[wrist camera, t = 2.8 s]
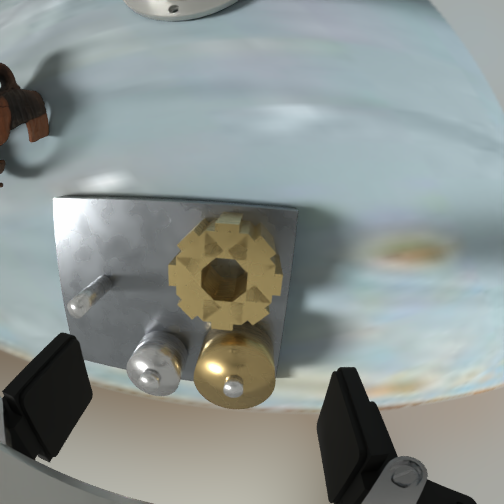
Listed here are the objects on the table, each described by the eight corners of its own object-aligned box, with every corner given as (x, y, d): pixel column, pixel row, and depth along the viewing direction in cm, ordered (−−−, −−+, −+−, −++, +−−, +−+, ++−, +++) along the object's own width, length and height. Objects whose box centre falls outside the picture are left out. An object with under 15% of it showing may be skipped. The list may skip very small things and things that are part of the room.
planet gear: (283, 216, 21) (288, 228, 17) (273, 306, 23) (275, 334, 19) (184, 209, 21) (168, 219, 17) (183, 298, 23) (170, 323, 19)
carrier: (295, 208, 23) (309, 226, 16) (273, 378, 27) (275, 428, 21) (62, 195, 23) (14, 209, 16) (82, 349, 27) (52, 386, 21)
